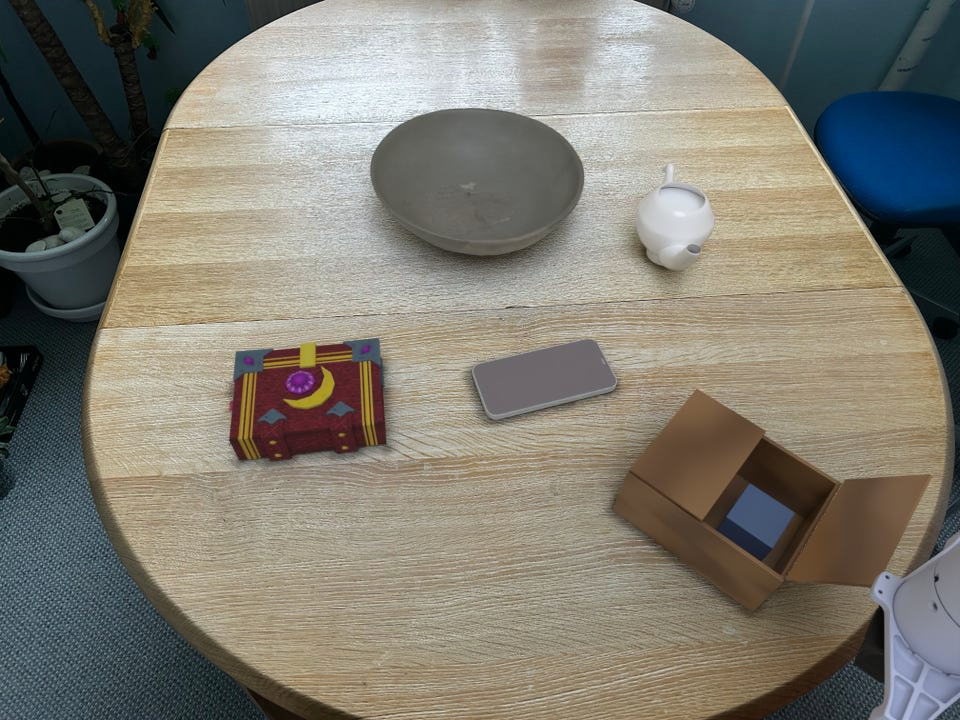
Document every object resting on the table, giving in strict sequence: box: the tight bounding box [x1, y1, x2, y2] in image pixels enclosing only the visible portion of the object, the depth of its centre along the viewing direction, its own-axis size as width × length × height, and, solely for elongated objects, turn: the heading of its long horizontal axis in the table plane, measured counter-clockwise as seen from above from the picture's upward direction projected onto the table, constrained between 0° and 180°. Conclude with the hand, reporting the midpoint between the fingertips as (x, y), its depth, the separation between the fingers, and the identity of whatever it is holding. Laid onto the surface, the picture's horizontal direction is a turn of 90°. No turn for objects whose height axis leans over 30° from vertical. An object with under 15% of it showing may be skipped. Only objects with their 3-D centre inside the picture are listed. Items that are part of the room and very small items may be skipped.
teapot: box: [634, 162, 716, 271], centre depth 85 cm, size 10×20×9 cm, turn 178°
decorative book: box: [228, 337, 387, 462], centre depth 70 cm, size 11×16×5 cm
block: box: [716, 483, 795, 561], centre depth 62 cm, size 4×4×4 cm
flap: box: [785, 473, 933, 589], centre depth 53 cm, size 7×12×1 cm
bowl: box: [369, 107, 585, 257], centre depth 89 cm, size 27×28×8 cm
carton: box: [612, 388, 843, 613], centre depth 62 cm, size 15×12×8 cm
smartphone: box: [471, 337, 618, 421], centre depth 74 cm, size 7×1×15 cm
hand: (870, 665), depth 47 cm, fingers closed
